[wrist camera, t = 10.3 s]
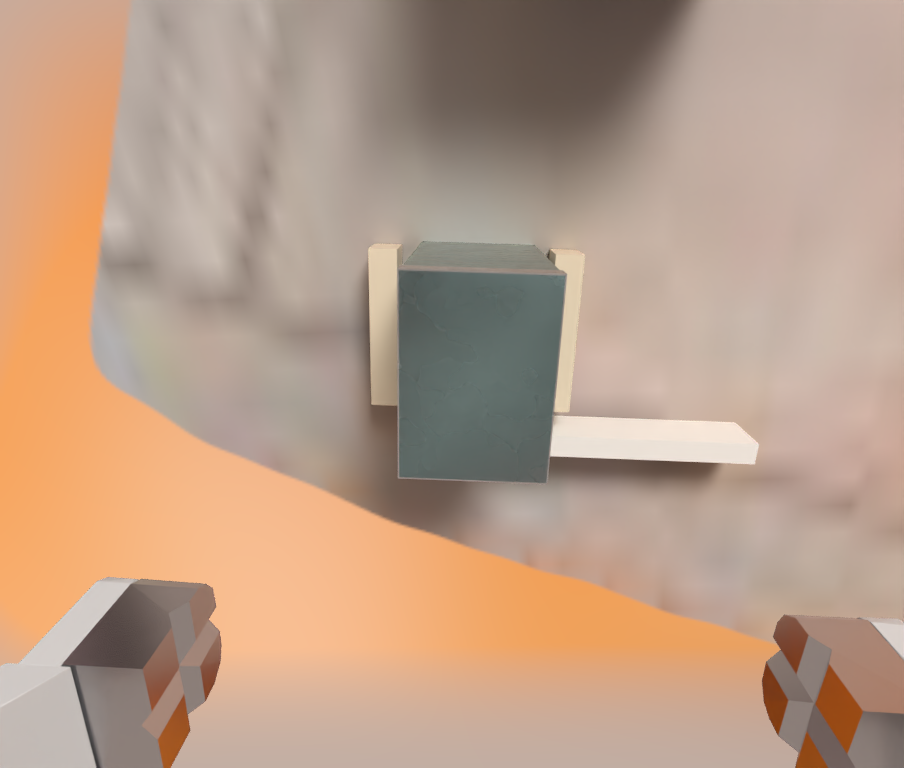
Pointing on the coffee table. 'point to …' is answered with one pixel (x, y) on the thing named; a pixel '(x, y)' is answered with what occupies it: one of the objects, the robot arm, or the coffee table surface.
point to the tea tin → (477, 362)
